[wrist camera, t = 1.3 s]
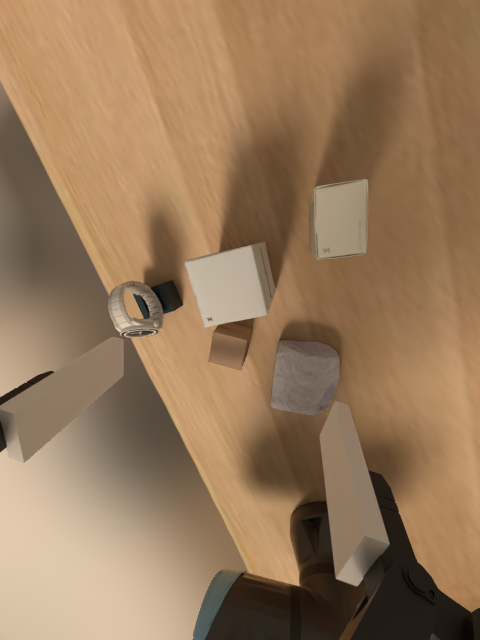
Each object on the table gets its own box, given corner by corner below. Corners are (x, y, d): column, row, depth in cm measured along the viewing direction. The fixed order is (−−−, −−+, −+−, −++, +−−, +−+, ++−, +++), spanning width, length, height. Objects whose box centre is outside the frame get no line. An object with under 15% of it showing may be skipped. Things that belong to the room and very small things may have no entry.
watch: (159, 324, 43) (117, 352, 32) (139, 279, 41) (87, 295, 30) (187, 316, 41) (152, 343, 31) (168, 268, 39) (124, 281, 29)
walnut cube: (246, 355, 41) (240, 370, 37) (218, 347, 42) (208, 361, 37) (252, 327, 39) (247, 340, 35) (222, 320, 40) (213, 331, 35)
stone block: (336, 338, 39) (273, 336, 39) (349, 353, 35) (277, 351, 35) (324, 399, 44) (267, 397, 43) (333, 419, 39) (270, 417, 39)
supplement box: (277, 291, 37) (269, 318, 25) (230, 300, 39) (201, 329, 27) (267, 239, 35) (252, 243, 23) (217, 252, 37) (181, 261, 25)
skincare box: (343, 248, 33) (368, 257, 22) (308, 252, 34) (315, 262, 23) (343, 196, 31) (371, 176, 20) (307, 202, 32) (313, 186, 21)
